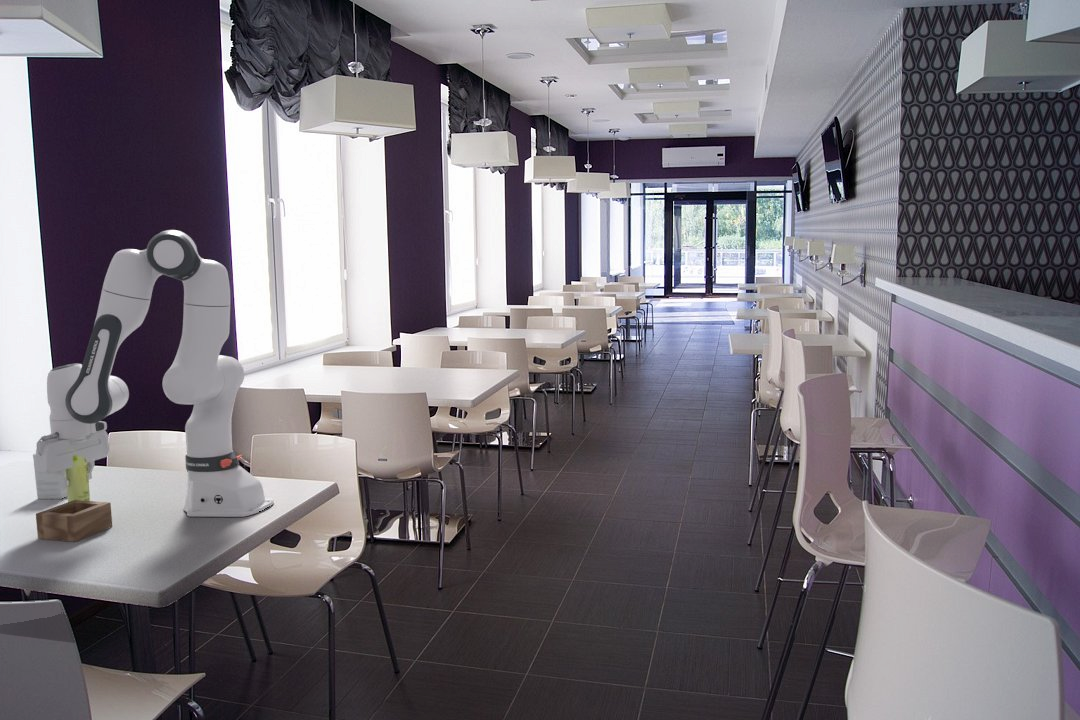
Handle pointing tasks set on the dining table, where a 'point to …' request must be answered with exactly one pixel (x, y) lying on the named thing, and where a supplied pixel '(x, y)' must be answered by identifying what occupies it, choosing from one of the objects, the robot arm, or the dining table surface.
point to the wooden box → (74, 520)
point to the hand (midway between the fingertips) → (76, 483)
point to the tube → (78, 480)
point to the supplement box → (48, 485)
